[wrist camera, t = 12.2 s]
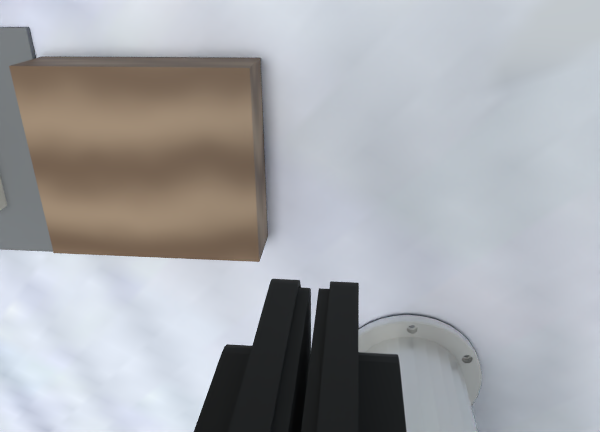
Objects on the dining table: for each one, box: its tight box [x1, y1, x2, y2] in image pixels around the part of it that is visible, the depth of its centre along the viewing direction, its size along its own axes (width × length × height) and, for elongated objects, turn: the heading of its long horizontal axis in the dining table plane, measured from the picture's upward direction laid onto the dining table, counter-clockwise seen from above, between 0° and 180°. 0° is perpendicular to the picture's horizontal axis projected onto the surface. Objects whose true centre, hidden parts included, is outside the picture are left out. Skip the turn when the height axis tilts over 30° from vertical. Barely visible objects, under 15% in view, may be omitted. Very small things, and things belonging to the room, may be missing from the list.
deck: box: [9, 57, 268, 262], centre depth 39 cm, size 14×16×4 cm
